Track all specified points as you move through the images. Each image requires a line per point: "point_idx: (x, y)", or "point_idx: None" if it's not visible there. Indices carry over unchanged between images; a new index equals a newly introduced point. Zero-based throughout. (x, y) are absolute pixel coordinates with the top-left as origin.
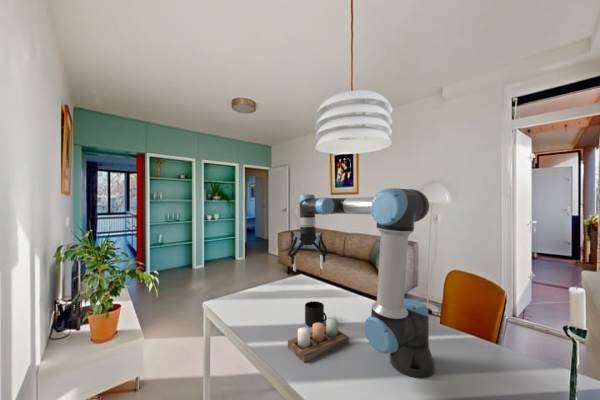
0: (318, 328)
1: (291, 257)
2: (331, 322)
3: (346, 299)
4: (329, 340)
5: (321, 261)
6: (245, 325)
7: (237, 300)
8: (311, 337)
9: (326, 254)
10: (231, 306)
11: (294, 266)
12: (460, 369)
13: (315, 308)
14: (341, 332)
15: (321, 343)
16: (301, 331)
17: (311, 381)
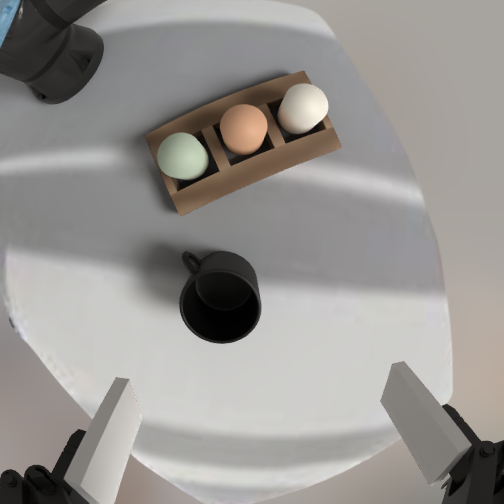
0: (249, 105)
1: (483, 442)
2: (186, 140)
3: None
4: (211, 119)
5: (107, 443)
6: (420, 295)
7: None
8: (263, 153)
9: (31, 479)
10: None
11: (424, 387)
12: None
13: (222, 271)
14: (157, 162)
15: None
16: (315, 97)
17: (292, 27)
